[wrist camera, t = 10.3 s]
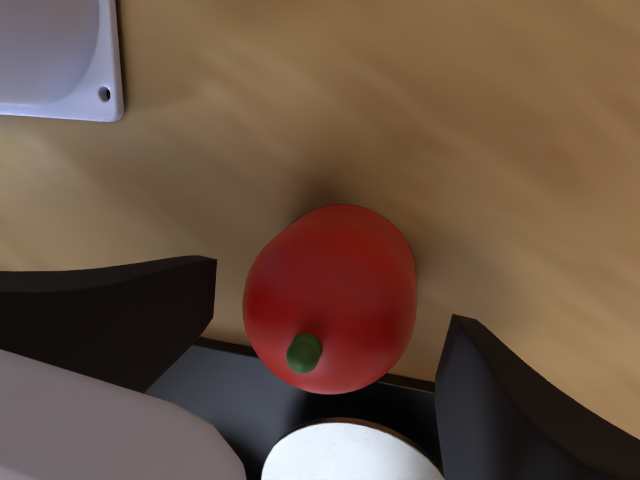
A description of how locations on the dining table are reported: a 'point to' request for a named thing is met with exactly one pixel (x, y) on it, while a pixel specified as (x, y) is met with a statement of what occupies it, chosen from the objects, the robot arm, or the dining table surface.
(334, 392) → the pepper
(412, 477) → the burner
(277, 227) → the dining table surface
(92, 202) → the dining table surface
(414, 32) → the dining table surface
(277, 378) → the hob
